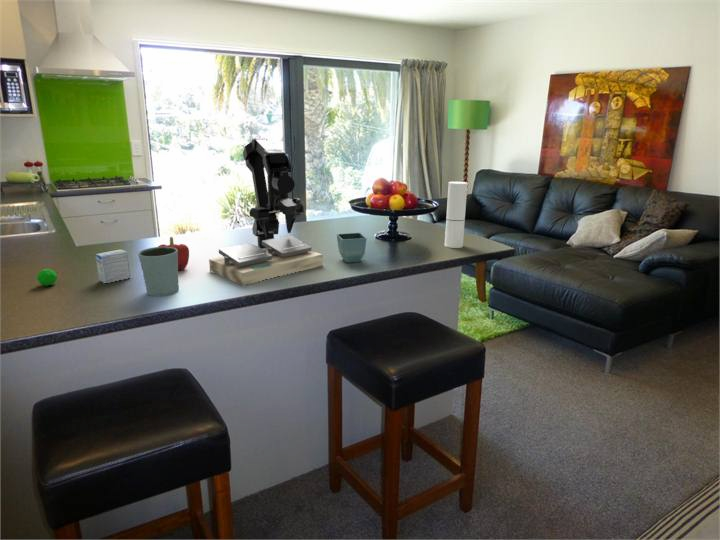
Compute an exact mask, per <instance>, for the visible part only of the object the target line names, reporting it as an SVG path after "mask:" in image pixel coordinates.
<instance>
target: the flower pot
mask: <svg viewBox="0 0 720 540" xmlns="http://www.w3.org/2000/svg"><path fill="white" fill-rule="evenodd" d="M336 241H337V248H338V251H339V254H340V256H341V258H342V259H343V261H345V262H346V263H358V262H361V261H362V259H363V257H364V255H365V252H366V246H367V237H366V236H364V234H362V233H361V232H352V233H351V232H350V233H349V232H348V233H336Z"/></svg>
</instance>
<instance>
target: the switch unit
mask: <svg viewBox="0 0 720 540" xmlns="http://www.w3.org/2000/svg"><path fill="white" fill-rule="evenodd" d="M300 241H301V240H300ZM301 242H303V243H305V241H301ZM262 250H264V251H266V252H267V253H269V254H271V255H272V260H268V261H263V262H259V263H254V264H249V265H245V266H240V267H239V266H237V265H236V264H234V263H233V262H231V261H230V260H229V257H227V256H226V257H224V256H218V257H213V258H209V259H208V262H209V271H210V272H211V271H212V272H211V273H213V272H215V273H214V274H216V273H217V274H216V275H218V274H219V275H218V276H220V275H221V276H220V277H222V276H223V277H222V278H224V279H227V278H228V279H227V280H229V279H230V280H229V281H231V280H232V282H234V281H235V282H234V283H236V282H237V283H236V284H238V283H239V285H240V284H241V285H240V286H243V285H244V286H247V284H248V285H251V283H252V284H255V282H256V283H259V282H258V281H260V282H263V281H262V280H264V281H266V280H265V279H268V280H271V279H270V278H272V279H274V277H276V278H278V277H277V276H280V277H282V276H283V275H284V276H287V274H288V275H291V273H292V274H295V272H296V273H299V271H300V272H302V271H306V270H307V271H308V270H311V269H315V268H320V267H322V266H323V265H324V262H323V260H324V259H323V254H322V253H320V252H316V251H312V250H311V251H309V252H305V253H300V254H296V255H291V256H287V257H281V256H279V255H278V254H276V253H274V252H273V250H272V248H263V249H262Z"/></svg>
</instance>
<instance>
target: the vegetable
mask: <svg viewBox="0 0 720 540" xmlns="http://www.w3.org/2000/svg"><path fill="white" fill-rule="evenodd" d="M157 247H173V248H176V249H177V250H178V271H179V270H184V269H185V268H187V266H188V264H189V260H190V249H189V246H188V245H186V244H182V243H180V244H177V243H175V244H174V237H173V236H170V237H169V244H160V245H158V246H157Z"/></svg>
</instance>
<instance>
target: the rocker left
mask: <svg viewBox="0 0 720 540" xmlns="http://www.w3.org/2000/svg"><path fill="white" fill-rule="evenodd" d="M218 253H219V255H221V257H223V256H224V257H226V256H227V257H229V260H230V261H231V262H233V263H234V264H236V265H237V266H239V267H240V266H245V265H249V264H254V263H259V262H263V261H268V260H272V255H271V254H269V253H267V252H266V251H264V250H262V249H261V248H259V247H258V245H256V244H254V243H252V242H249V243H244V244H237V245H233V246H228V247H221V248H219V249H218Z"/></svg>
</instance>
